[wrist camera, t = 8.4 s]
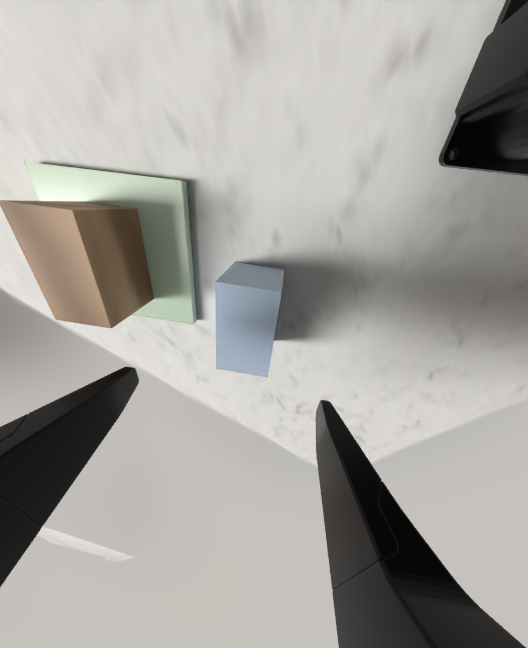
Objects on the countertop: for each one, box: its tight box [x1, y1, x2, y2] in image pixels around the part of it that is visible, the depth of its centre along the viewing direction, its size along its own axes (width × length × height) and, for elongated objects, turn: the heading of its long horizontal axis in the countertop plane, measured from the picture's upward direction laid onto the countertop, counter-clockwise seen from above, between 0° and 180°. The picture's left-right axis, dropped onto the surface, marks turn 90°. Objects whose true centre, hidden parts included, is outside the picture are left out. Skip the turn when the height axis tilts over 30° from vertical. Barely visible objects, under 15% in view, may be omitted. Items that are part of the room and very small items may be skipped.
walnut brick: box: [0, 201, 154, 328], centre depth 14 cm, size 4×7×5 cm, turn 174°
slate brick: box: [216, 262, 284, 377], centre depth 16 cm, size 4×7×5 cm, turn 173°
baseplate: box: [24, 162, 197, 324], centre depth 17 cm, size 11×11×1 cm
